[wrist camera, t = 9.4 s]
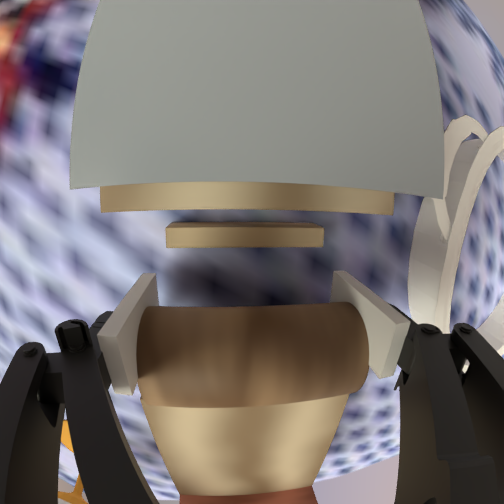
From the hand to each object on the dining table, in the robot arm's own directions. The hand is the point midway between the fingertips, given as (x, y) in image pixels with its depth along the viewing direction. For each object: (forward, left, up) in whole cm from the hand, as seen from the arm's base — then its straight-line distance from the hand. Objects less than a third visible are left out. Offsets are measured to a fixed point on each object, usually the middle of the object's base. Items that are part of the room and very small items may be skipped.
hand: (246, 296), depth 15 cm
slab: (0, +14, +4) cm, 15 cm away
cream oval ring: (+22, +2, -2) cm, 22 cm away
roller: (0, 0, +1) cm, 1 cm away
